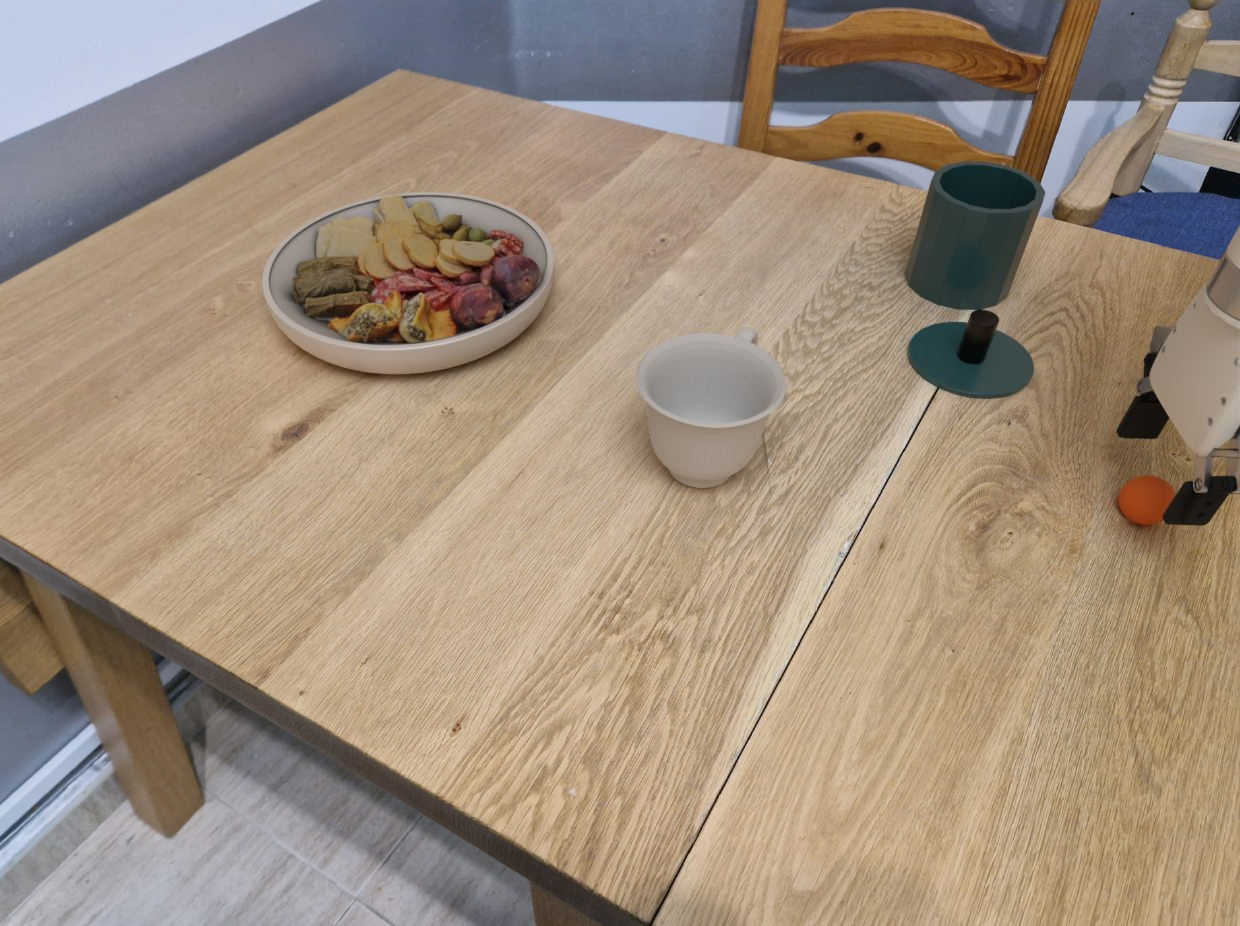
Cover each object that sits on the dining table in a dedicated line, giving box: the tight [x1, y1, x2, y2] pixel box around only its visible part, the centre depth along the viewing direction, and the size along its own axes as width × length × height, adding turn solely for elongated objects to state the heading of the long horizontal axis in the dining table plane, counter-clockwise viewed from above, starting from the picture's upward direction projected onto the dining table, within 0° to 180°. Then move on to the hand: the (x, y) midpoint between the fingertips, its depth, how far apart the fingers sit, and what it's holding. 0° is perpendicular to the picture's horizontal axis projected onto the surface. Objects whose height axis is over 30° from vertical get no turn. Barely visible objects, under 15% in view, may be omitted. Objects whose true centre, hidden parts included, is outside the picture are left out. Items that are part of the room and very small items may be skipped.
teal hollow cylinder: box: [904, 160, 1046, 311], centre depth 97 cm, size 11×11×12 cm
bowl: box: [261, 191, 555, 375], centre depth 98 cm, size 30×30×8 cm
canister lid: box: [907, 309, 1035, 399], centre depth 90 cm, size 12×12×6 cm
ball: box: [1118, 475, 1177, 526], centre depth 76 cm, size 4×4×4 cm
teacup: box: [635, 326, 787, 489], centre depth 80 cm, size 12×15×10 cm
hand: (1158, 477), depth 74 cm, fingers open, 9 cm apart
